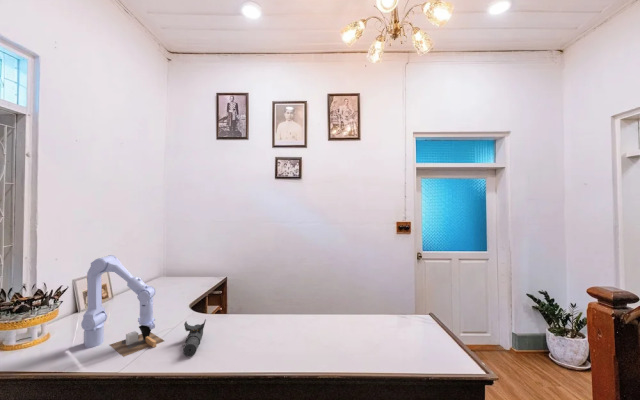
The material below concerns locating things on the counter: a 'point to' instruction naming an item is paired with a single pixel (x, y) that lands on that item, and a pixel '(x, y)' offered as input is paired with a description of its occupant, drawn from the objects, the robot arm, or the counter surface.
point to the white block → (131, 338)
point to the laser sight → (193, 338)
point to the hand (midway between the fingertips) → (146, 339)
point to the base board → (134, 345)
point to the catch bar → (150, 341)
